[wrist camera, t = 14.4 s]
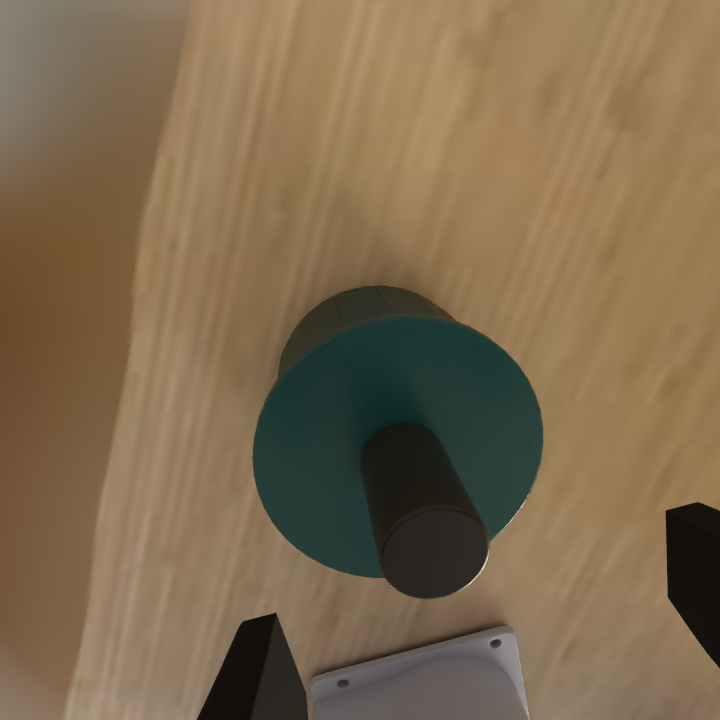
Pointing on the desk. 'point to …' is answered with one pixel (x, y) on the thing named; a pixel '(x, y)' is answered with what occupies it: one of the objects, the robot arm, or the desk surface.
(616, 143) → the desk surface
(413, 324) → the tin lid
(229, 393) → the desk surface
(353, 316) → the lunch tin
